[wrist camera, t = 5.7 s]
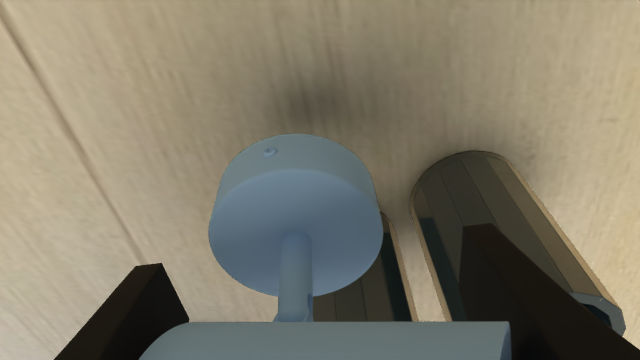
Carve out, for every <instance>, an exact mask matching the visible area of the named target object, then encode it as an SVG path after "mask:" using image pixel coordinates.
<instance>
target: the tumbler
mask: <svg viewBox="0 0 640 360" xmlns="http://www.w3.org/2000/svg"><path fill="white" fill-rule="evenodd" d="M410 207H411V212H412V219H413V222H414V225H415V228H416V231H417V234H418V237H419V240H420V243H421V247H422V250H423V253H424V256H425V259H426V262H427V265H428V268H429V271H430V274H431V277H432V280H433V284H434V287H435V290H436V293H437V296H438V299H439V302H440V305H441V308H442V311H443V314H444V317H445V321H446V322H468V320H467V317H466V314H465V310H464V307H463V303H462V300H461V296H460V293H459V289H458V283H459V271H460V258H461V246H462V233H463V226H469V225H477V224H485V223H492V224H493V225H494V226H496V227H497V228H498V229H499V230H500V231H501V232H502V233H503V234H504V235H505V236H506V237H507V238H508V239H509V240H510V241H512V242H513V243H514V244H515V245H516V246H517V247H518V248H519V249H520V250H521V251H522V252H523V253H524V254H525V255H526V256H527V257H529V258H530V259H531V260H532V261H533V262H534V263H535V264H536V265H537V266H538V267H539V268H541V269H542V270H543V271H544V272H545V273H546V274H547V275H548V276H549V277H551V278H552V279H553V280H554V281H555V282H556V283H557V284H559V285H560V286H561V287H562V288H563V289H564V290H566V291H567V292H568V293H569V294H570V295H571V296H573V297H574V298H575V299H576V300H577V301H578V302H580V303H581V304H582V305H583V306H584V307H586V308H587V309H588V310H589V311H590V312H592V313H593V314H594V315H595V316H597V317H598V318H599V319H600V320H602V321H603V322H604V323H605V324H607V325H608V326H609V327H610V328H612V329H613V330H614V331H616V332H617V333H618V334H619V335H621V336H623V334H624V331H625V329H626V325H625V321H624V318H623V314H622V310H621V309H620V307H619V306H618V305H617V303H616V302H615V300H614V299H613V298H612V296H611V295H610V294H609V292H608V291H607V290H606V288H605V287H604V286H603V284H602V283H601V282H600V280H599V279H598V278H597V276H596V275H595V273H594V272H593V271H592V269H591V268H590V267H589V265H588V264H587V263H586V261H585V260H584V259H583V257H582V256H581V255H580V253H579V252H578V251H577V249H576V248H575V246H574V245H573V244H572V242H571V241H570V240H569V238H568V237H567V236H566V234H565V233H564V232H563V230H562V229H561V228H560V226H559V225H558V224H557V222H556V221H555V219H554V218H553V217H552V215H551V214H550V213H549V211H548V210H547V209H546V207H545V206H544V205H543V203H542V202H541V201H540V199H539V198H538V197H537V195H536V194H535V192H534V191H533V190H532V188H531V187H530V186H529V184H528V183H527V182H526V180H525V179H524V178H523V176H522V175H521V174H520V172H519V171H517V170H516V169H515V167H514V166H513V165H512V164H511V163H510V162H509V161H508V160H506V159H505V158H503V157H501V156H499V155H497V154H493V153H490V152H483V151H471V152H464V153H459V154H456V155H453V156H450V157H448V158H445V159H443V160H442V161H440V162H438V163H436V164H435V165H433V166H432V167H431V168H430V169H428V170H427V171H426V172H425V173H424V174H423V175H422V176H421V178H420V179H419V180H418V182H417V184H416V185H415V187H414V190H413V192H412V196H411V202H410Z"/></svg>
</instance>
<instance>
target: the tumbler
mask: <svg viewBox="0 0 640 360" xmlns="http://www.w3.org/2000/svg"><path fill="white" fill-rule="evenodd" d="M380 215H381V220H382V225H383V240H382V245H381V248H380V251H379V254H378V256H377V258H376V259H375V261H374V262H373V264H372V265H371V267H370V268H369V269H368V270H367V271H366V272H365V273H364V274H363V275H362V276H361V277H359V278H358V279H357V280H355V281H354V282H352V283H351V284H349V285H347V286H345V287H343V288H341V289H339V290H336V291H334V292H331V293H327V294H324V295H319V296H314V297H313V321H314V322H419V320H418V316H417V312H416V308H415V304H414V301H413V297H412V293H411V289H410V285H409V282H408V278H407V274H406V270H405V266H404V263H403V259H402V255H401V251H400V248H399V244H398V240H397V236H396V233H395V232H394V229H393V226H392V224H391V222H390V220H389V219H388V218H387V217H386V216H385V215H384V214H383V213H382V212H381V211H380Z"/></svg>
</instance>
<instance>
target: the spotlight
mask: <svg viewBox="0 0 640 360" xmlns="http://www.w3.org/2000/svg"><path fill="white" fill-rule="evenodd" d="M382 240H383V225H382V220H381V215H380V211H379V206H378V202H377V197H376V193H375V189H374V184H373V181H372V178H371V176H370V173H369V171H368V170H367V168H366V166H365V165H364V164H363V162H362V161H361V160H360V159H359V158H358V157H357V156H356V155H355V154H354V153H353V152H351V151H350V150H349V149H347V148H346V147H344V146H342V145H341V144H339V143H337V142H335V141H332V140H329V139H327V138H323V137H320V136H315V135H309V134H283V135H277V136H273V137H269V138H266V139H263V140H261V141H258V142H256V143H254V144H252V145H250V146H249V147H247V148H245V149H244V150H243V151H241V152H240V153H239V154H238V155H237V156H236V157H235V158H234V159H233V160H232V161H231V162H230V163H229V165H228V166H227V168H226V170H225V171H224V173H223V176H222V178H221V181H220V185H219V189H218V192H217V196H216V200H215V204H214V208H213V211H212V215H211V219H210V223H209V242H210V246H211V249H212V252H213V254H214V256H215V258H216V260H217V261H218V263H219V264H220V265H221V267H222V268H223V269H224V270H225V271H226V272H227V273H228V274H229V275H230V276H231V277H233V278H234V279H235V280H237V281H238V282H240V283H241V284H243V285H245V286H247V287H249V288H251V289H253V290H256V291H258V292H261V293H265V294H268V295H273V296H278V313H277V315H276V317H275V318H274V320H273V322H190V323H184V324H181V325H178V326H176V327H174V328H172V329H170V330H168V331H167V332H165V333H164V334H163V335H161V336H160V337H159V338H158V339H157V340H155V341H154V342H153V343H152V344H151V345H150V346H149V347H148V349H147V350H146V351H145V352H144V353H143V354H142V356H141V357H140V358H139V360H511V332H510V325H509V322H508V321H502V322H314V321H313V297H314V296H319V295H324V294H327V293H331V292H334V291H336V290H339V289H341V288H343V287H345V286H347V285H349V284H351V283H352V282H354V281H355V280H357V279H358V278H359V277H361V276H362V275H363V274H364V273H365V272H366V271H367V270H368V269H369V268H370V267H371V265H372V264H373V262H374V261H375V259H376V258H377V256H378V254H379V251H380V248H381V245H382Z"/></svg>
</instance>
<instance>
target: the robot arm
mask: <svg viewBox="0 0 640 360" xmlns="http://www.w3.org/2000/svg"><path fill="white" fill-rule="evenodd" d="M458 289H459V293H460V296H461V300H462V303H463V307H464V310H465V314H466V317H467V320H468V322H502V321H508V322H509V325H510V332H511V360H640V350H639V349H638V348H636V347H635V346H634V345H632V344H631V343H630V342H628V341H627V340H626V339H625V338H623V337H622V336H621V335H619V334H618V333H617V332H616V331H614V330H613V329H612V328H610V327H609V326H608V325H607V324H605V323H604V322H603V321H602V320H600V319H599V318H598V317H597V316H595V315H594V314H593V313H592V312H590V311H589V310H588V309H587V308H586V307H584V306H583V305H582V304H581V303H580V302H578V301H577V300H576V299H575V298H574V297H573V296H571V295H570V294H569V293H568V292H567V291H566V290H564V289H563V288H562V287H561V286H560V285H559V284H557V283H556V282H555V281H554V280H553V279H552V278H551V277H549V276H548V275H547V274H546V273H545V272H544V271H543V270H542V269H541V268H539V267H538V266H537V265H536V264H535V263H534V262H533V261H532V260H531V259H530V258H529V257H527V256H526V255H525V254H524V253H523V252H522V251H521V250H520V249H519V248H518V247H517V246H516V245H515V244H514V243H513V242H512V241H510V240H509V239H508V238H507V237H506V236H505V235H504V234H503V233H502V232H501V231H500V230H499V229H498V228H497V227H496V226H494V225H493V224H492V223H485V224H477V225H469V226H463V233H462V246H461V258H460V271H459V283H458ZM184 323H189V317H188V315H187V313H186V311H185V309H184V307H183V305H182V303H181V301H180V299H179V297H178V295H177V293H176V291H175V289H174V287H173V285H172V283H171V281H170V279H169V277H168V275H167V273H166V271H165V269H164V267H163V265H162V263H157V264H149V265H141V266H135V268H134V269H133V270H132V271H131V272H130V273H129V274H128V275H127V276H126V278H125V279H124V280H123V281H122V282H121V283H120V284H119V286H118V287H117V288H116V289H115V290H114V291H113V293H112V294H111V295H110V296H109V297H108V298H107V300H106V301H105V302H104V303H103V304H102V305H101V307H100V308H99V309H98V310H97V311H96V312H95V314H94V315H93V316H92V317H91V318H90V319H89V321H88V322H87V323H86V324H85V325H84V326H83V327H82V329H81V330H80V331H79V332H78V333H77V334H76V335H75V337H74V338H73V339H72V340H71V341H70V342H69V343H68V345H67V346H66V347H65V348H64V349H63V350H62V351H61V352H60V353H59V354H58V356H57V357H56V358H55V359H54V360H139V358H140V357H141V356H142V354H143V353H144V352H145V351H146V350H147V349H148V347H149V346H150V345H151V344H152V343H153V342H154V341H155V340H157V339H158V338H159V337H160V336H161V335H163V334H164V333H165V332H167V331H168V330H170V329H172V328H174V327H176V326H178V325H181V324H184Z"/></svg>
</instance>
